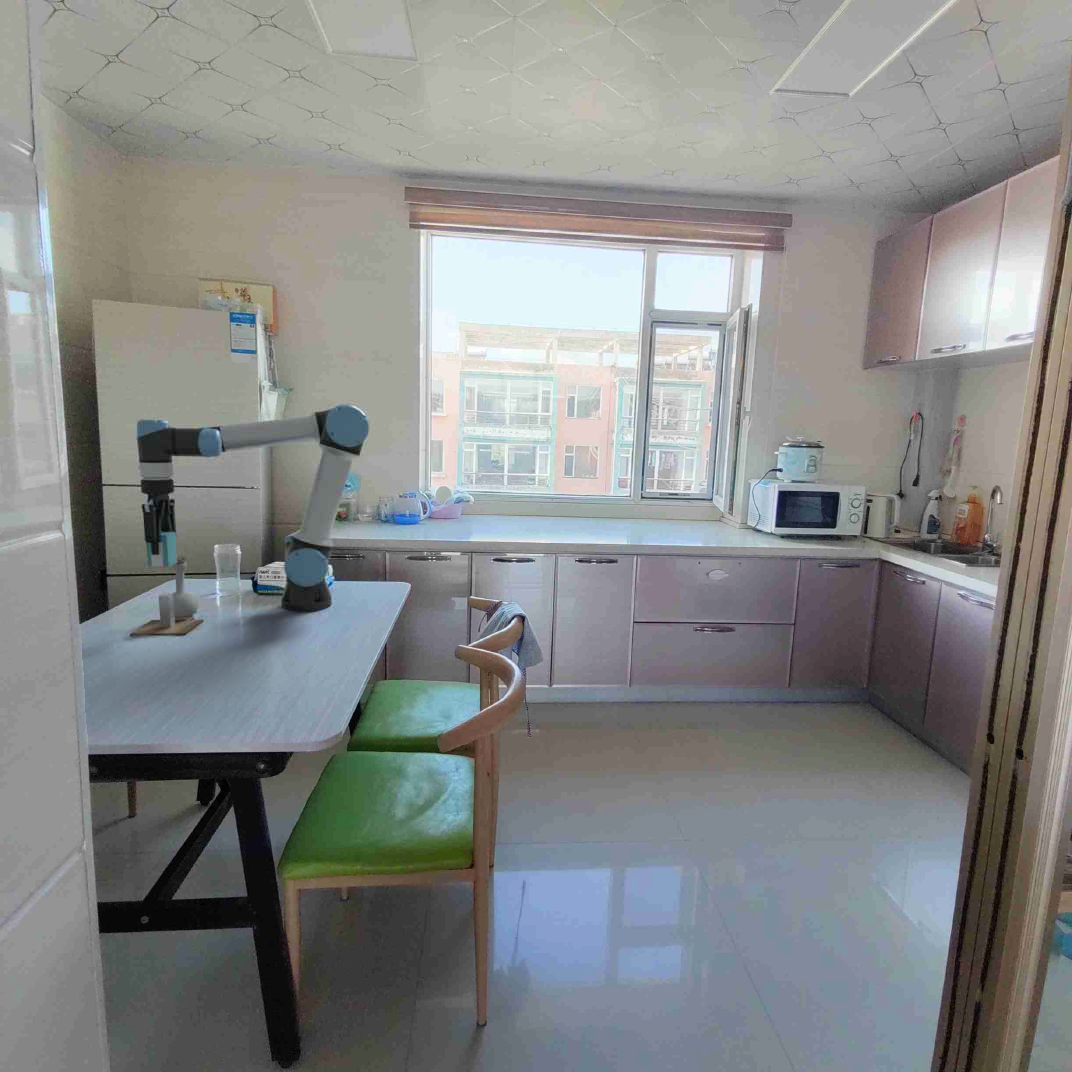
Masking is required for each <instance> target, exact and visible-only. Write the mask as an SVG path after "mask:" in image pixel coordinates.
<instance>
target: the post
mask: <svg viewBox="0 0 1072 1072" xmlns="http://www.w3.org/2000/svg"><path fill="white" fill-rule="evenodd" d="M158 606H159V620H160V622H161V628H171V627H173V626H174V625H175V615H174V601H173V594H172V593H162V594H160V595H158Z"/></svg>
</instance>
